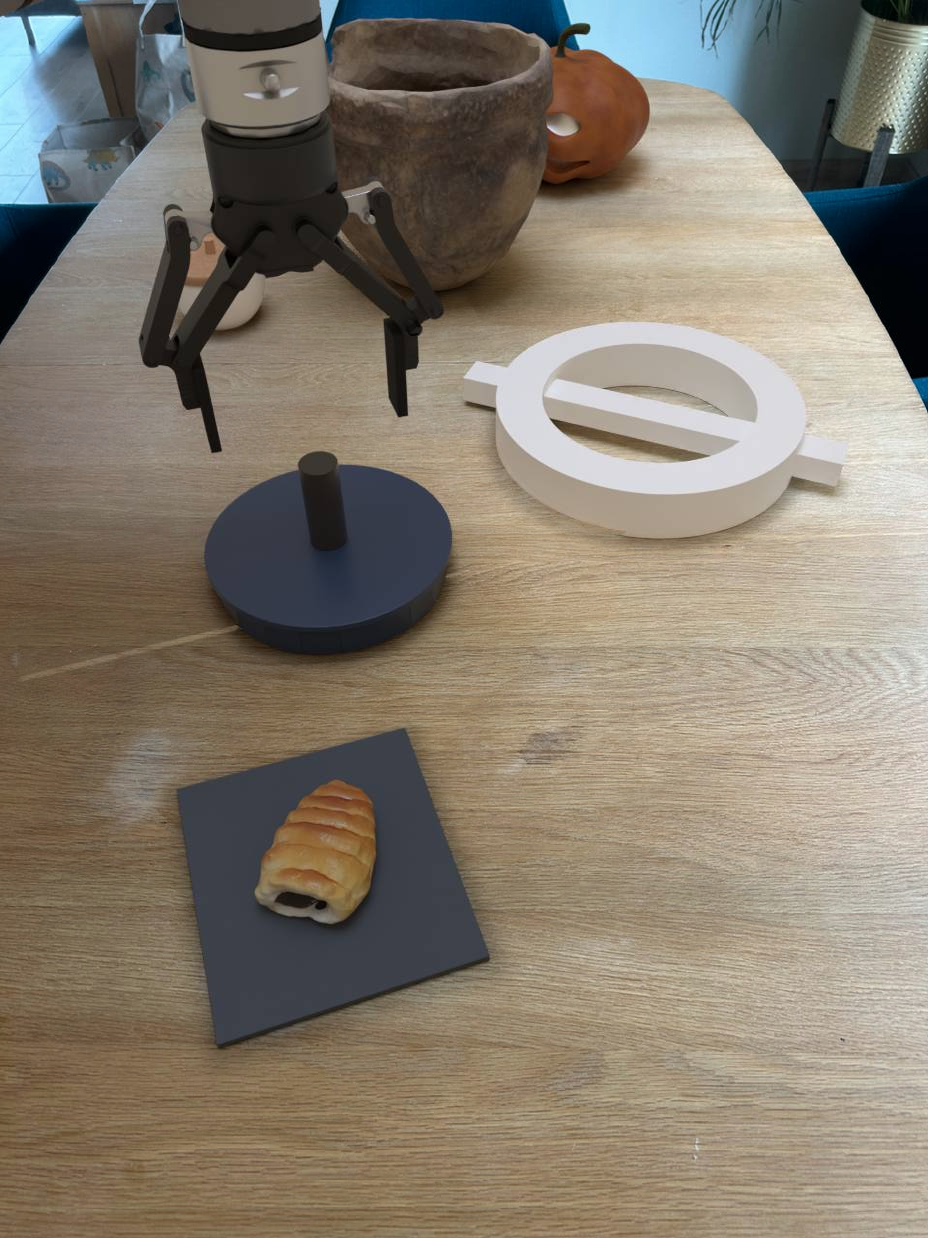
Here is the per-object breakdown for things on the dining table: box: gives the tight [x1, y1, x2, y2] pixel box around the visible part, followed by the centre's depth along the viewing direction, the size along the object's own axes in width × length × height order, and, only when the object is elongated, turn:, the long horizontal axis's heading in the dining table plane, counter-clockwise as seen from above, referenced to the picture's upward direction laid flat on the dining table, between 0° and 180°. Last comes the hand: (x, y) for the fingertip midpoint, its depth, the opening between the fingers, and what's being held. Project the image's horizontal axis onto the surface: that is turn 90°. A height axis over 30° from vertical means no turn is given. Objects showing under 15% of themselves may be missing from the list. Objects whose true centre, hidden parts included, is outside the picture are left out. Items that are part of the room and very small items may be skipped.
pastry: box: [255, 780, 376, 924], centre depth 62 cm, size 9×7×4 cm
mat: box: [176, 727, 491, 1049], centre depth 63 cm, size 18×16×1 cm
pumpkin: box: [542, 22, 651, 185], centre depth 135 cm, size 25×25×19 cm
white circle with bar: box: [462, 321, 850, 540], centre depth 93 cm, size 28×28×5 cm
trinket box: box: [177, 233, 266, 331], centre depth 109 cm, size 11×11×9 cm
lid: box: [203, 450, 453, 632], centre depth 78 cm, size 20×20×9 cm
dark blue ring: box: [220, 570, 447, 656], centre depth 82 cm, size 19×19×3 cm
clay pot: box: [324, 17, 554, 292], centre depth 109 cm, size 26×26×25 cm
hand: (308, 424), depth 72 cm, fingers open, 13 cm apart
